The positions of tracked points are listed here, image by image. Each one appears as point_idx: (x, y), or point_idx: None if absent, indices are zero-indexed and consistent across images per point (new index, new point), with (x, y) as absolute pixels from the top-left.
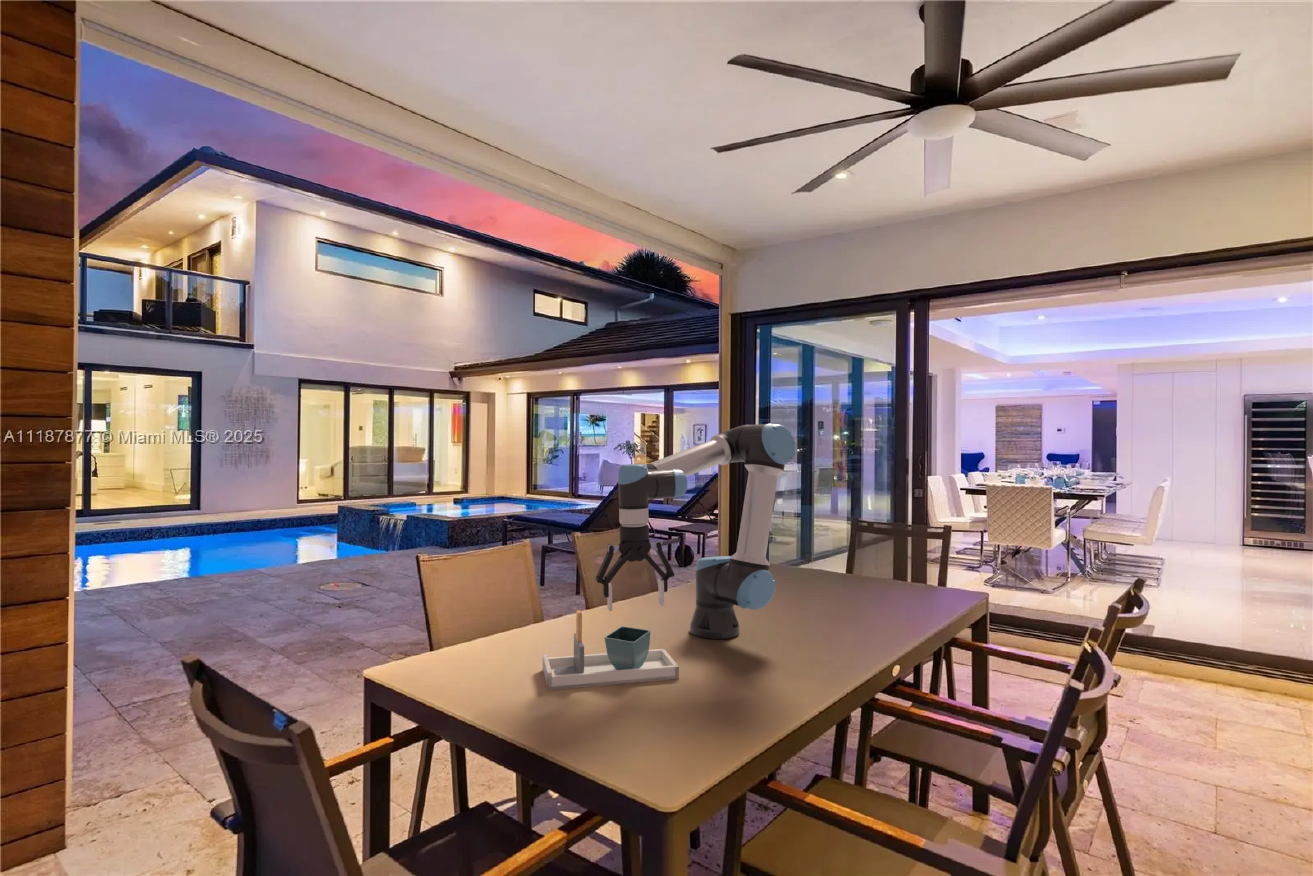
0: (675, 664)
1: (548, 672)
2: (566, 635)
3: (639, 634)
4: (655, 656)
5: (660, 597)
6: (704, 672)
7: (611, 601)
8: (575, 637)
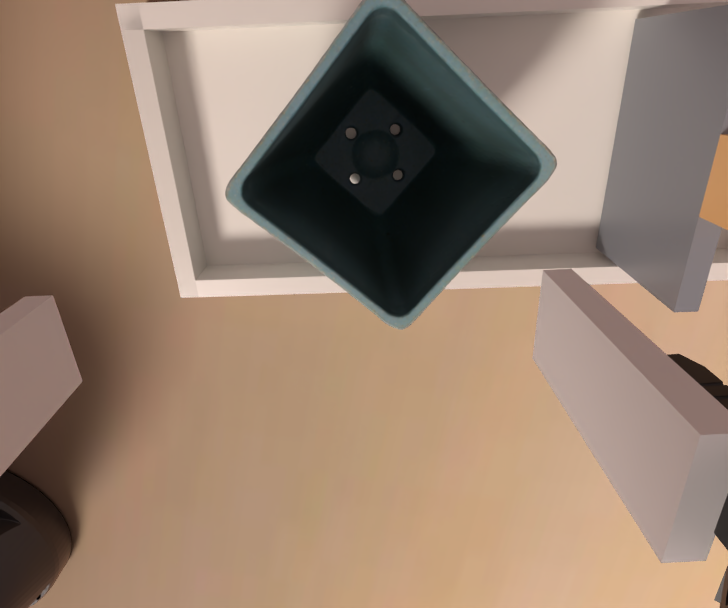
0: (133, 44)
1: None
2: (524, 575)
3: (302, 231)
4: (230, 269)
5: (17, 365)
6: (10, 80)
7: (588, 310)
8: (715, 243)
